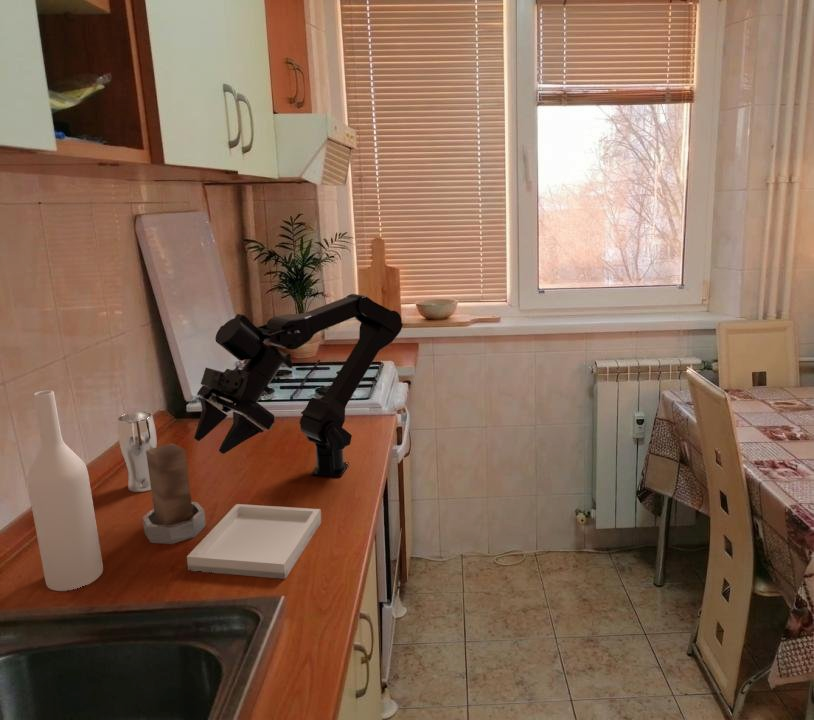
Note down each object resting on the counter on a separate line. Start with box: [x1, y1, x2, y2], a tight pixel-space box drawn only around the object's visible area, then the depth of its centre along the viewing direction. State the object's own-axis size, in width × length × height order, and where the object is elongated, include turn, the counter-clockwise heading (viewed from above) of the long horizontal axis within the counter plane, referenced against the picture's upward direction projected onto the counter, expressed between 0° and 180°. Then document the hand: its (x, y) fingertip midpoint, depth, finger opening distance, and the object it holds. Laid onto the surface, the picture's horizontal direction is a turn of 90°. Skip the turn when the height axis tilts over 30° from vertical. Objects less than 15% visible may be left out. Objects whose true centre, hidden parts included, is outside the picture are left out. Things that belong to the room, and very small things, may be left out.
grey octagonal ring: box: [142, 501, 207, 545], centre depth 115 cm, size 10×10×3 cm
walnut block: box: [146, 442, 193, 526], centre depth 114 cm, size 5×5×15 cm
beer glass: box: [116, 410, 158, 493], centre depth 132 cm, size 7×7×15 cm
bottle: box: [26, 389, 104, 592], centre depth 98 cm, size 8×8×30 cm
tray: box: [186, 503, 322, 580], centre depth 109 cm, size 18×16×2 cm
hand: (208, 446), depth 118 cm, fingers open, 9 cm apart
